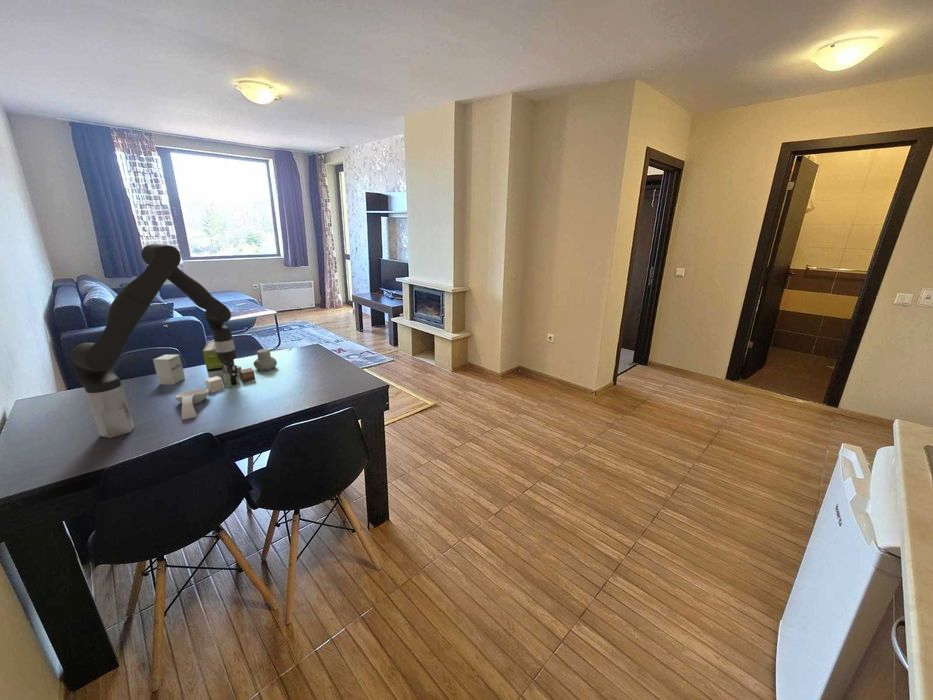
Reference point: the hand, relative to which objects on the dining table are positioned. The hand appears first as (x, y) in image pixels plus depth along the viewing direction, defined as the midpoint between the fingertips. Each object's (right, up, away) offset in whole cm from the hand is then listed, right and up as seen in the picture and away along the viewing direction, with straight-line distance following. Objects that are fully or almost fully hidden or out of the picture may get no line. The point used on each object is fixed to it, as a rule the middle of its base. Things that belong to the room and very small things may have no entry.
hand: (232, 383), depth 178 cm
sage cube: (0, -1, 0) cm, 0 cm away
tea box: (-14, +4, +14) cm, 20 cm away
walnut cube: (+5, +1, +5) cm, 7 cm away
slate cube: (-4, +2, +9) cm, 10 cm away
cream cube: (-5, -2, -5) cm, 7 cm away
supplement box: (-30, 0, +2) cm, 30 cm away
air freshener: (+6, +6, +19) cm, 21 cm away
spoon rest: (-3, -8, -22) cm, 23 cm away
